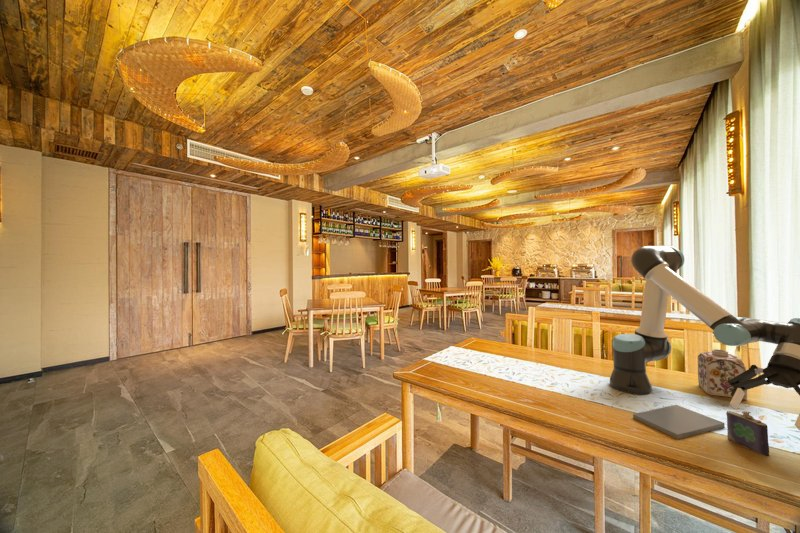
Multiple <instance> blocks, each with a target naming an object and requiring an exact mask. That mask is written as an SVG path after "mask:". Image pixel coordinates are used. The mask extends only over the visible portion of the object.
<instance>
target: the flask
mask: <svg viewBox="0 0 800 533" xmlns="http://www.w3.org/2000/svg"><path fill="white" fill-rule="evenodd" d="M741 413H742V414H741ZM741 413H739V412H735V411H731V410H727V411H726V413H725V414H726V423H727V424H726V425H727V426H726V427H727V429H726V430H727V439H728V440H729V441H730V442H732V443H735V444H737V445H739V446H740V447H743V448H746V449H749V450H750V451H752V452H754V453H756V454H758V455H760V456H764V457H770V447H769V432H768V424H766V423H764V422H762V421H761V420H759V419H755V418H754V417H753V416H752V415H750V414H752V413H751V412H750V411H747V410H746V411H741Z"/></svg>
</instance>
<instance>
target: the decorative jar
mask: <svg viewBox="0 0 800 533" xmlns="http://www.w3.org/2000/svg"><path fill="white" fill-rule="evenodd" d="M746 370H747V368H746V366H745V363H744V362H743V360H742V358H740V357H739V356H737V355H733V354H731V353H729V351H727V350H725V349H716V348H715V349H714V348H713V349H712V350H711V351H704V352H700V353H699V354H698V355H697V379H698V386H699V387H701V389H702V390H703V391H704V392H705V393H706V394H707V395H709V396H710V395H711V396H718V397H723V398H724V397H725V398H731V399H732V398H733V397H732V396H731V393H732V390H733V389H734V388H733V387H731V385H730V384H729V383H728V381H729V380H731V379H733V378H734V377H736V376H738V375H739V374H741V373H743V372H745V371H746ZM744 393H745V395H744V397H743V398H742V400H744V401H747V399H748V390H744Z"/></svg>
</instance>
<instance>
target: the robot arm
mask: <svg viewBox="0 0 800 533" xmlns="http://www.w3.org/2000/svg"><path fill="white" fill-rule="evenodd" d="M630 263H631V265H632V267H633V268H634V270H635V271H636V272H637V274H639V275H640V276H641V277H643V278H644V279H645V284H644V291H643V298H642V307H641V315H640V321H639V326H638V327H637V328H635V330H634V334H632V333H622V334H617V335H615V336H614V337H613V338H612V344H611V346H612V358H613V370H612V372H611V375H610V377H609V386H611V387H612V388H614V389H615V390H618V391H621V392H624V393H628V394H635V395H649V394H652V392H653V387H652V384H651V382H650V379H649V376H648V375H647V369H646V368H647V364H646V363H650V362H657V361H660V360H663V359H666V358H668V356H670V354H671V353H672V345H671V342H670V341H669V339H668V336H669V335H668V334H667V333H666V332H665V324H666V317H667V310H668V304H669V303H668V302H669V296H670V297H671V298H673V299H675V301H676V302H678V303H679V304H680V305H682V306H683V307H684V308H685V309H687V310H688V311H689V312H690V313H692V315H694V316H695V317H696V318H698V319H699V320H700V321H701V322H702V323H703V324H705V325H706V326H707V327H708V328H710V329H711V330H712V331H713V335H714V337H715V339H716V341H718V342H719V343H720V344H722V345H725V346H730V347H737V346H739V347H740V346H741V347H742V346H745V345H747V344H752V343H757V342H763V343H768V344H774V345H776V347H775V349H774V350H773V352H772V355H771V357H770V359H769V361H768V362H767V366H766V367H765V368H761V367H758V366H757V365H756V364H752V365H750V366H749V368H748V369H746V371H745V372H743V373H741V374H739V375H738V376H736V377H734V378H733V379H731V380H729V381H728V383H729V384H730V385H731V387H733V388H734V389H733V390H732V393H731V396H732V397H733V398H731V400H730V402H729V405H730V406H731V407H732V409H734V410H737V409H738V408H739V406H740V405H741V402H742V401H743V399H742V398H743V397H744V395H745V393H744V390H747V391H748V390H751V389H754V388H756V387H757V388H758V387H760V386H764V385H766V386H767V385H770V384H772V385H773V386H777V387H778V386H779V387H782V388H784V389H785V388H786V389H791V388H793V390H794V391H795V392H796V393H797V394H798V396H800V317H793V318H791V319H790V320H788V322H778V321H777V322H776V321H770V320H764V319H757V318H752V317H744V316H743V317H741V316H738V317H737V316H736V317H735V316H734V315H733V314H731V313H730V312H729V311H728V310H726V309H725V308H723V307H722V306H721V305H719V304H718V303H717V302H716V301H714V300H713V299H712V298H710V297H709V296H707V294H704V293H703V292H702V291H701V290H699V289H698V288H697V287H695V286H694V285H693V284H691V283H690V282H688V281H687V280H686V279H684V277H682V276H681V275H679V274H678V273H677V272H678V270H680V268H682V267H683V265H684V264H685V256H684V253H683V252H682V251H681V250H680V249H678V248H677V247H675V246H671V245H645V246H642V247H639V248H638V249H635V251H633V253H632V254H631V258H630ZM794 426H795V427H796V428H797V429H798V431H800V413H798V416H797V417H796V420H795V422H794Z"/></svg>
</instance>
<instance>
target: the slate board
mask: <svg viewBox="0 0 800 533" xmlns="http://www.w3.org/2000/svg"><path fill="white" fill-rule="evenodd" d="M632 416H633V419H634V420H636V421H639V422H641V423H642V424H645V425H647V426H649V427H651V428H654V430H655V429H656V430H658V431H659V432H661V433H664V434H666V435H668V436H671V437H672V438H674V439H676V440H680V439H683V438H684V439H685V438H689V437H692V436H697V435H700V434H704V433H707V432H712V431H716V430H720V429H723V428H725V422H724V421H723V422H722V421H720V420H717V419H715V418H712V417H710V416H707V415H704V414H702V413H700V412H696V411H694V410H691V409H688V408H686V407H684V406H681V405H678V404H674V405H669V406H663V407H659V408H654V409H649V410H646V411H641V412H635V413H633V414H632Z"/></svg>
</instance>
